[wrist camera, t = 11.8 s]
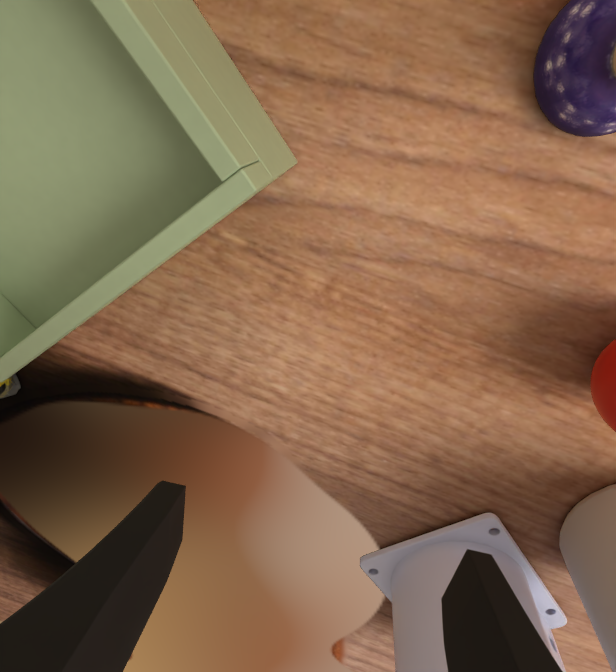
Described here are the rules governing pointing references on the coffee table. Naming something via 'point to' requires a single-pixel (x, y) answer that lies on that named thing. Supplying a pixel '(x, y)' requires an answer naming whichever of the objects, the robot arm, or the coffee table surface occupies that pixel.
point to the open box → (113, 155)
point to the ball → (605, 384)
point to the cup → (594, 562)
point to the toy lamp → (579, 69)
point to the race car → (9, 386)
